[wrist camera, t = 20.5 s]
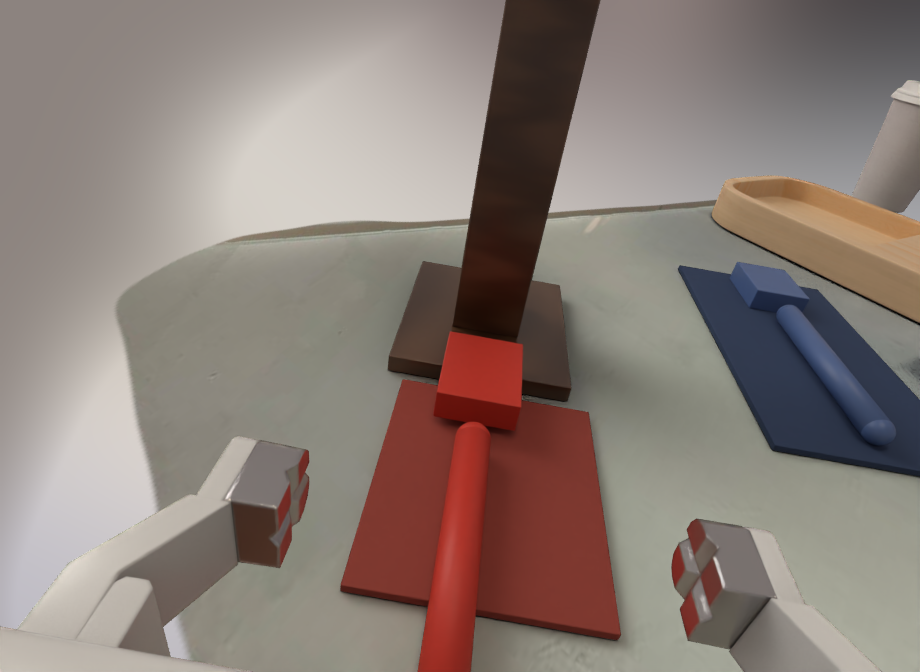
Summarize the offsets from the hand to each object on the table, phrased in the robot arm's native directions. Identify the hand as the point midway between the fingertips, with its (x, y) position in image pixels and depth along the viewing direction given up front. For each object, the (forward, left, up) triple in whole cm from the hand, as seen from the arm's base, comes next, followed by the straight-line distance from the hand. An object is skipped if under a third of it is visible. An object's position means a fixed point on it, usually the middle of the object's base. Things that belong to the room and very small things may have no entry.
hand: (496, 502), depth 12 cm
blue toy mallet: (+22, +26, -9) cm, 36 cm away
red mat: (+1, +9, -10) cm, 13 cm away
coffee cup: (+52, +72, -10) cm, 90 cm away
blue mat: (+22, +26, -10) cm, 36 cm away
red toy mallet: (0, +7, -9) cm, 12 cm away
